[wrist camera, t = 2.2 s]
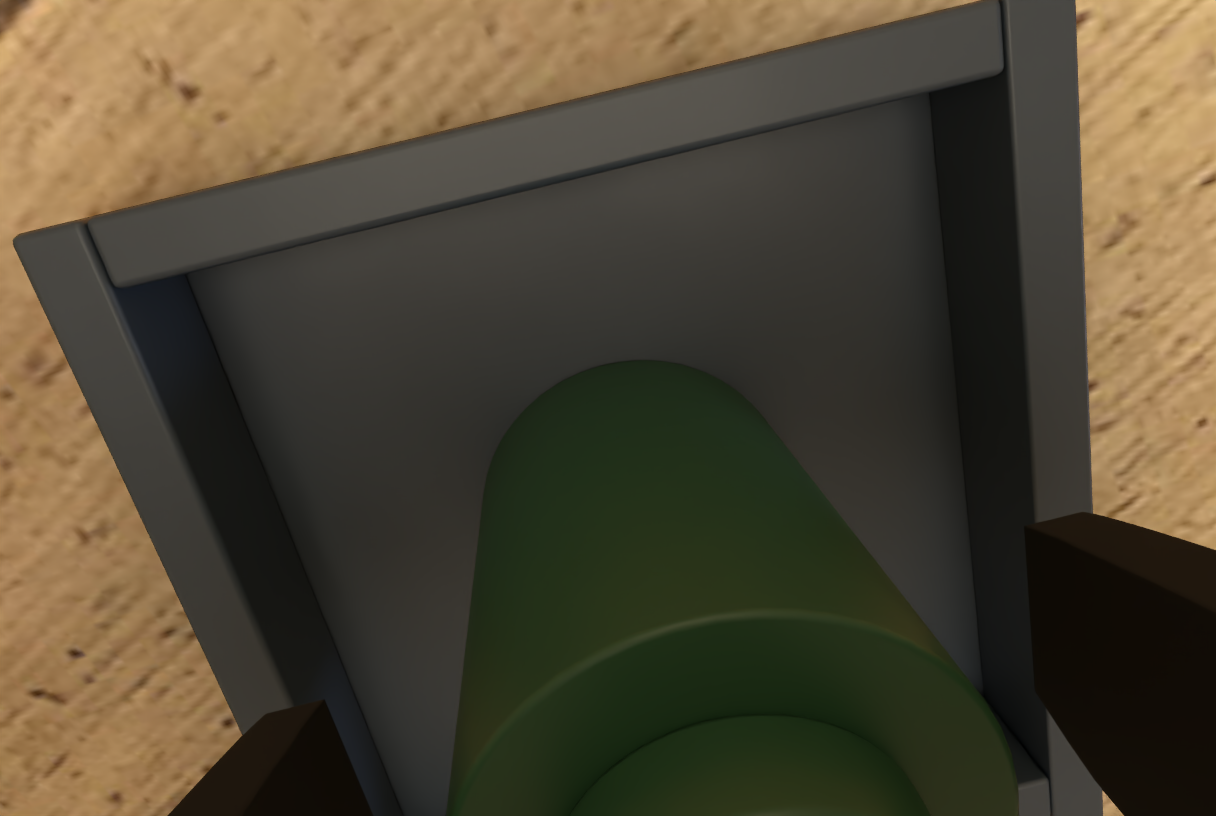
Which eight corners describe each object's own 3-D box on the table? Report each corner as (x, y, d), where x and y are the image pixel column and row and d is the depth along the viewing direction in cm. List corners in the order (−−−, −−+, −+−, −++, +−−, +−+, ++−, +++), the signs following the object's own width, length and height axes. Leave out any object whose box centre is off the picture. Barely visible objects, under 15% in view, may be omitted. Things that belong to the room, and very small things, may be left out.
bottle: (607, 687, 14) (756, 1751, 5) (417, 486, 12) (126, 1466, 3) (842, 525, 13) (1509, 1390, 4) (672, 293, 12) (1136, 866, 3)
